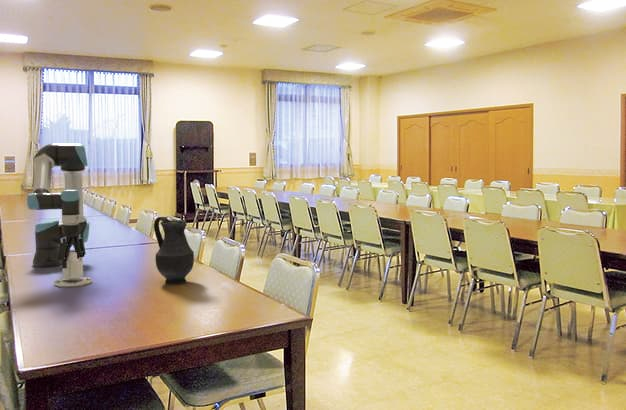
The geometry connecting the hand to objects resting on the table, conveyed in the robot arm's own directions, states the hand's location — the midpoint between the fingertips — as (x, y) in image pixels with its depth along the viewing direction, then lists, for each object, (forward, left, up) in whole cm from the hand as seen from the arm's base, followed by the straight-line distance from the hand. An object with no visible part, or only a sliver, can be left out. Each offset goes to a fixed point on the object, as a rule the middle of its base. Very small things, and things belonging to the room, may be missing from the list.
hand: (72, 273), depth 265 cm
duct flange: (0, 0, -5) cm, 5 cm away
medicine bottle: (0, 0, -2) cm, 2 cm away
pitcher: (+42, +15, -5) cm, 45 cm away
